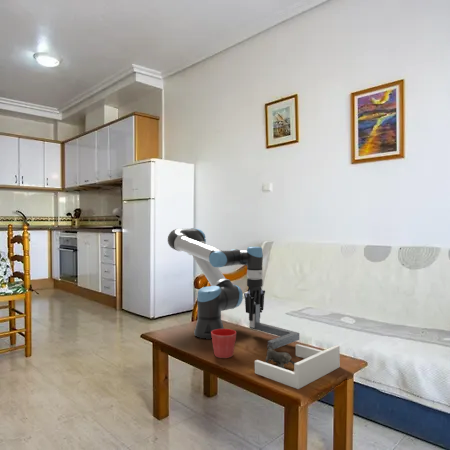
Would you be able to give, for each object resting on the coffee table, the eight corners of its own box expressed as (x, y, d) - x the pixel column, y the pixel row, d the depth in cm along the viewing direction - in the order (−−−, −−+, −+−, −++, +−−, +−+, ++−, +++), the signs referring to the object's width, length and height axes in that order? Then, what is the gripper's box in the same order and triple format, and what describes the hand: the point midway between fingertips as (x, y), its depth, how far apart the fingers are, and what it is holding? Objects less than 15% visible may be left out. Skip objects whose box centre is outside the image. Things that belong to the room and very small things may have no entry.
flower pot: (239, 351, 159) (239, 329, 160) (233, 360, 149) (232, 336, 149) (215, 349, 162) (215, 327, 162) (207, 358, 152) (207, 334, 152)
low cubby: (254, 373, 136) (254, 351, 136) (297, 354, 155) (297, 335, 155) (298, 389, 122) (298, 364, 122) (339, 367, 141) (339, 345, 141)
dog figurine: (263, 365, 143) (262, 346, 143) (271, 361, 148) (271, 343, 148) (289, 373, 135) (289, 353, 136) (298, 368, 140) (297, 349, 140)
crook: (225, 335, 171) (225, 309, 171) (253, 326, 184) (253, 302, 184) (272, 349, 151) (272, 320, 151) (299, 339, 165) (299, 312, 165)
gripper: (249, 281, 173) (249, 331, 174) (271, 277, 185) (271, 324, 185) (237, 279, 179) (237, 327, 179) (259, 275, 190) (259, 321, 190)
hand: (254, 326), depth 182 cm, fingers closed on crook, 3 cm apart
